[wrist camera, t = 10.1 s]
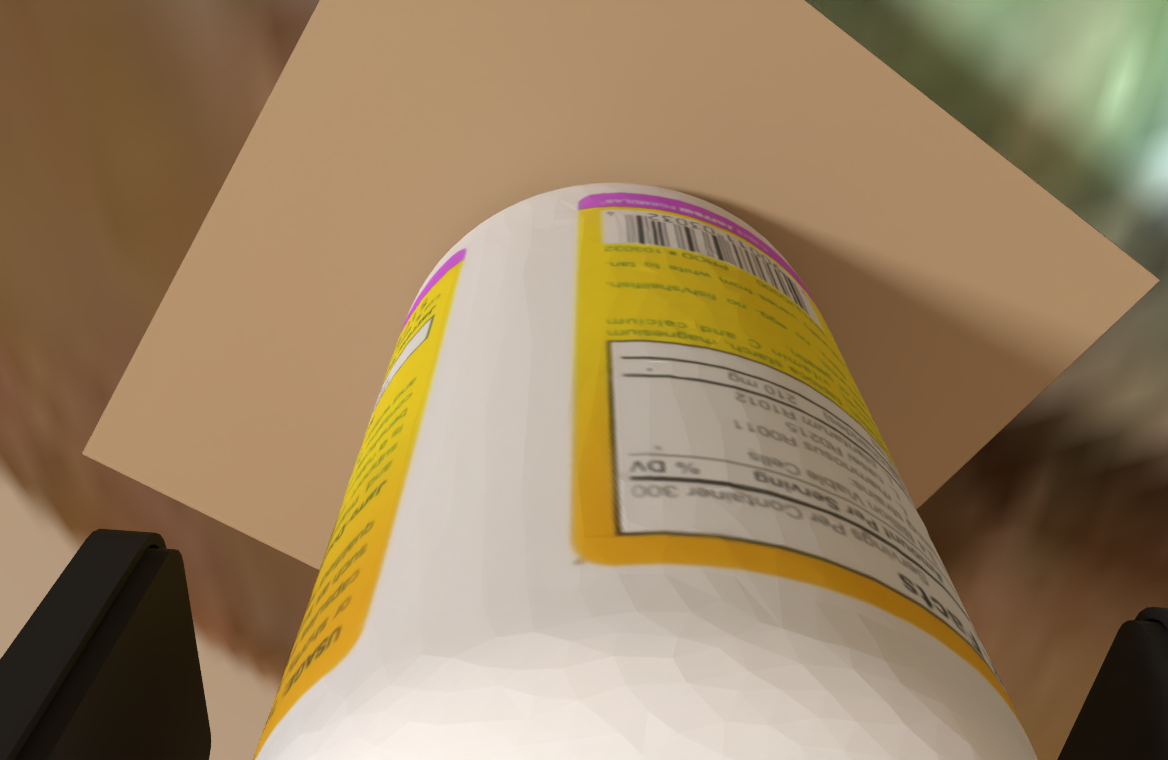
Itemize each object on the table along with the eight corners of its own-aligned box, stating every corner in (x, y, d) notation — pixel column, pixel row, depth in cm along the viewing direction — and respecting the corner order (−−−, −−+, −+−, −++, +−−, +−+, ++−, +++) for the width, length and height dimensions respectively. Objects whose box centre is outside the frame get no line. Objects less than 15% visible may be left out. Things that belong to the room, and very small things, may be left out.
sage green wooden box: (1010, 160, 20) (1159, 280, 15) (652, 549, 25) (670, 741, 20) (500, -243, 17) (461, -270, 12) (203, 300, 22) (81, 453, 17)
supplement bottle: (496, 572, 18) (348, 1816, 7) (331, 250, 15) (-436, 1556, 4) (862, 472, 17) (1401, 1761, 6) (765, 102, 14) (1524, 1328, 3)
